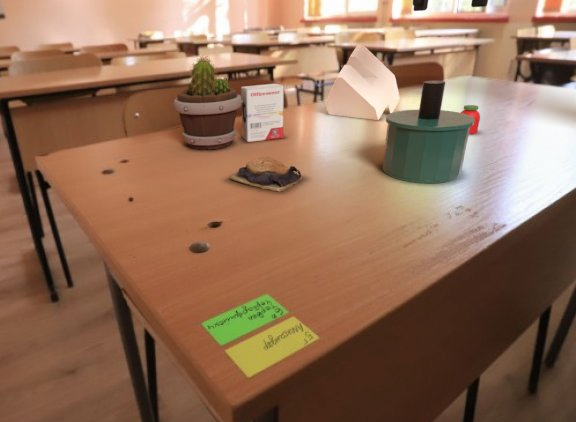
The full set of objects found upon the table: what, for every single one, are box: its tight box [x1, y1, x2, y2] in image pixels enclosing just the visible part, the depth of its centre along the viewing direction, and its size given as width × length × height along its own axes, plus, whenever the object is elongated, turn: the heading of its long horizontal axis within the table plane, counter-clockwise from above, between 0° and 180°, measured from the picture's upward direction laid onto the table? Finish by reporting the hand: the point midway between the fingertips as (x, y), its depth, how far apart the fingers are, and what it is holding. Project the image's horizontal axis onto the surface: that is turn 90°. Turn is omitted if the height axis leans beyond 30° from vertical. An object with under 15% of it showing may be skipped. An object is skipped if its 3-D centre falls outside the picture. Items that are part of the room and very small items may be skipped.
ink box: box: [240, 83, 285, 143], centre depth 94 cm, size 9×5×12 cm, turn 100°
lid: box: [385, 80, 475, 131], centre depth 66 cm, size 13×13×7 cm
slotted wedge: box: [324, 44, 401, 121], centre depth 107 cm, size 14×11×18 cm
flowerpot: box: [172, 55, 243, 151], centre depth 90 cm, size 14×15×20 cm
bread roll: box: [229, 156, 304, 193], centre depth 71 cm, size 11×8×4 cm
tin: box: [382, 123, 470, 184], centre depth 69 cm, size 12×12×8 cm
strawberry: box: [460, 104, 481, 135], centre depth 89 cm, size 4×4×6 cm
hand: (449, 8), depth 69 cm, fingers open, 9 cm apart
